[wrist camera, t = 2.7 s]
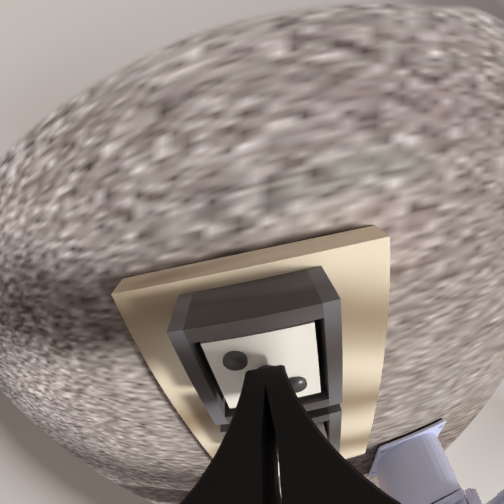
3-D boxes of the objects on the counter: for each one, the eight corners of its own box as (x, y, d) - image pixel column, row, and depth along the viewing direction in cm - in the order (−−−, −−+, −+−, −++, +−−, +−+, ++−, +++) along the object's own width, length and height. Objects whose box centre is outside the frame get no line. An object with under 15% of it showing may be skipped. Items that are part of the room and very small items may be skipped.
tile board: (360, 440, 20) (372, 475, 16) (229, 465, 20) (229, 501, 16) (374, 225, 12) (422, 261, 8) (122, 278, 13) (87, 328, 9)
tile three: (311, 361, 13) (321, 394, 11) (230, 376, 13) (229, 411, 11) (303, 292, 11) (315, 324, 9) (205, 312, 11) (200, 346, 9)
